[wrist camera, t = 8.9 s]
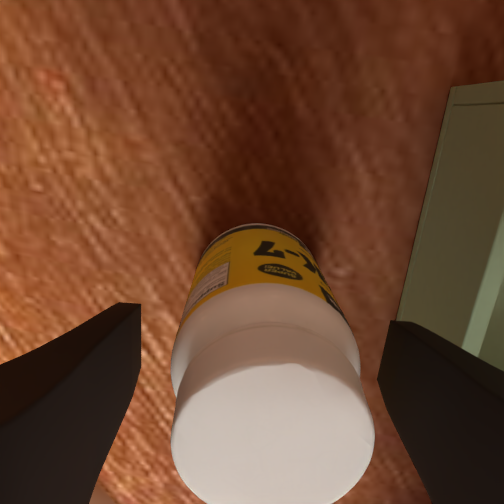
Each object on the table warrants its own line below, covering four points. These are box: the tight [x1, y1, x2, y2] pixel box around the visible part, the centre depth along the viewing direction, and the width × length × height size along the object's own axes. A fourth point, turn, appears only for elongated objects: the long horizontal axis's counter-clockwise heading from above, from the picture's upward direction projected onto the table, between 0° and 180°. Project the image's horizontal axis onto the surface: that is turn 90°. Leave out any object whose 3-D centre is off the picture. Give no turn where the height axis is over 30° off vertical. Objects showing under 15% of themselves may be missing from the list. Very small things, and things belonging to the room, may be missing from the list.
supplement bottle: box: [171, 223, 375, 504], centre depth 11 cm, size 5×5×8 cm
